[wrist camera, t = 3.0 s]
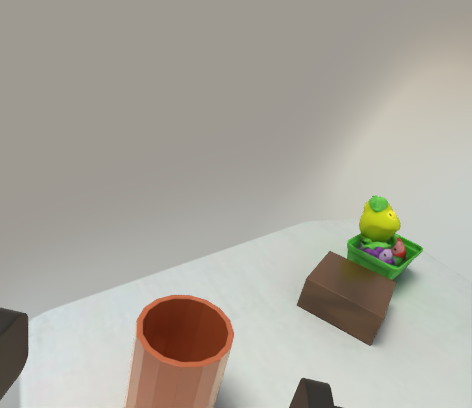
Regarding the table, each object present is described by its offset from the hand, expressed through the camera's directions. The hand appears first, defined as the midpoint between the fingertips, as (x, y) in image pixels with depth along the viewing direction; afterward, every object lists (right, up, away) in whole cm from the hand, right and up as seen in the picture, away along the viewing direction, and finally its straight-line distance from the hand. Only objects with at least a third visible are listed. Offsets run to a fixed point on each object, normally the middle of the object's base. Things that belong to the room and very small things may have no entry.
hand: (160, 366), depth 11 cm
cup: (-3, -11, +17) cm, 21 cm away
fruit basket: (+22, -6, +45) cm, 50 cm away
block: (+15, -8, +35) cm, 39 cm away
